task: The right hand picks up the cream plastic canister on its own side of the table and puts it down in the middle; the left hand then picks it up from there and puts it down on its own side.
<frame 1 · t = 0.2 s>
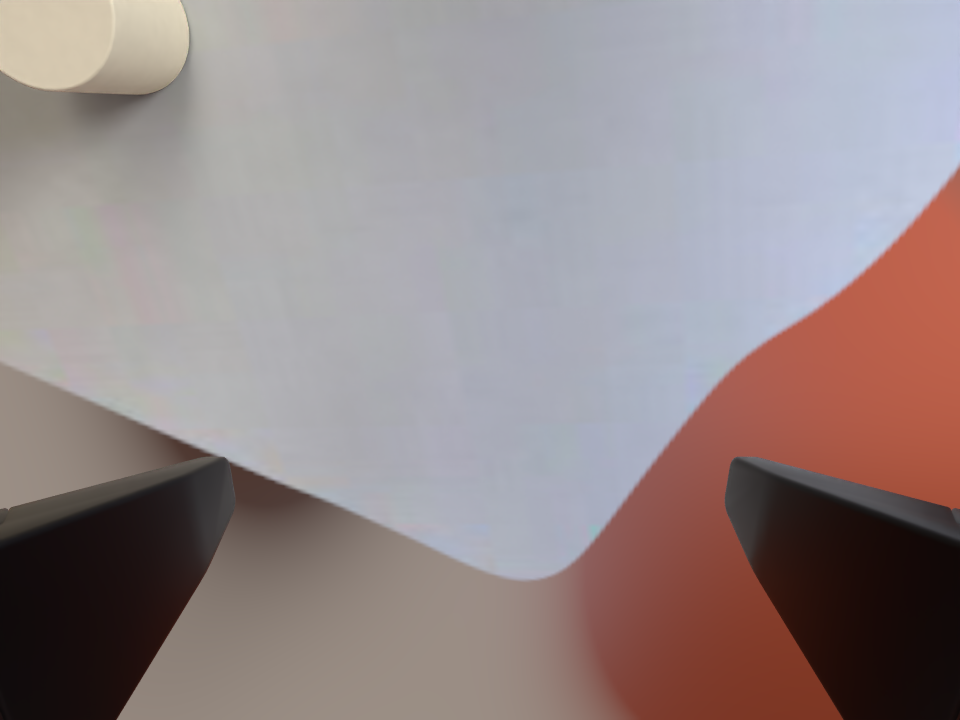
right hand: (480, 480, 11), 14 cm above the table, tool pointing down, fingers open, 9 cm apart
canister: (126, 26, 21), on the table
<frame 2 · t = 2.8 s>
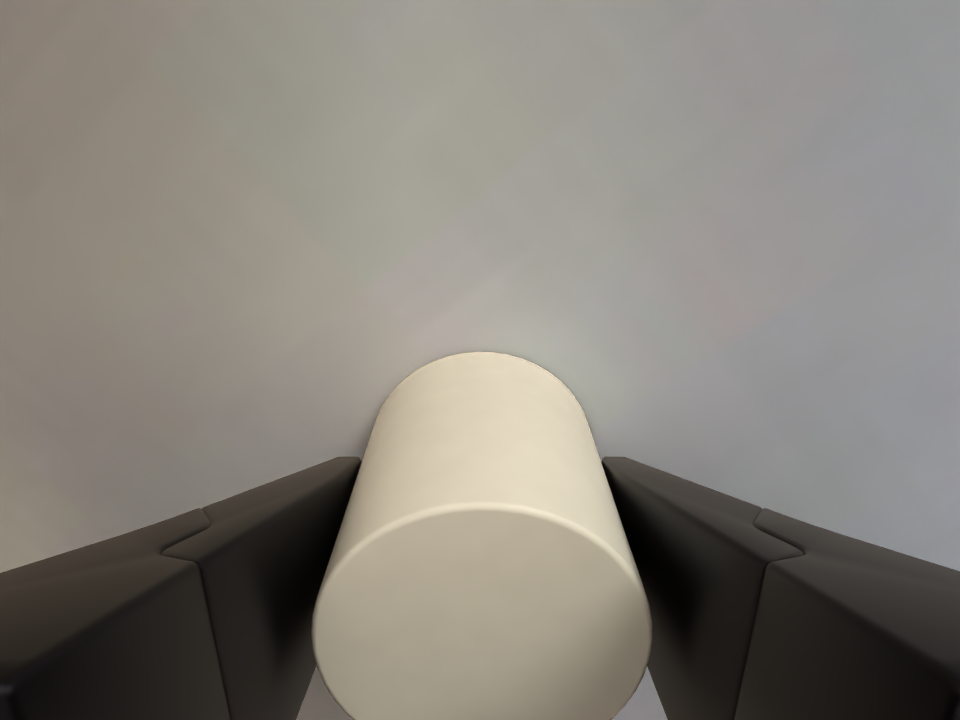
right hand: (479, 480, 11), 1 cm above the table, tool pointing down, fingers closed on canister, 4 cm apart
canister: (481, 452, 12), on the table, touching right hand
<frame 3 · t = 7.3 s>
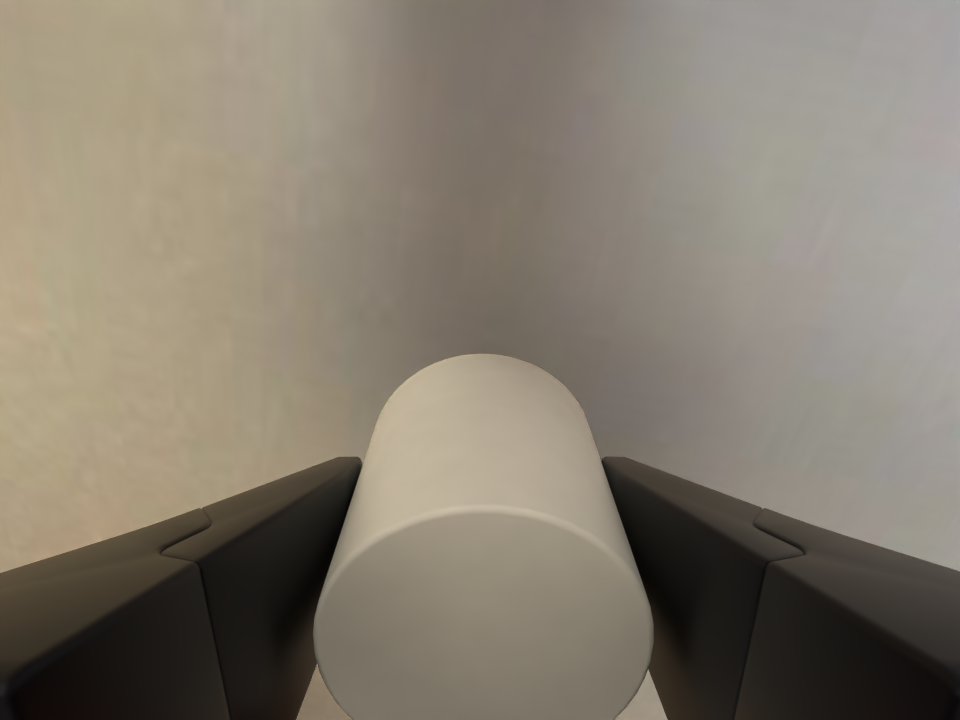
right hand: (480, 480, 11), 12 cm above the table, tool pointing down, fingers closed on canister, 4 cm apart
canister: (482, 453, 12), point 11 cm above the table, touching right hand
when the right hand's fingers open (2 cm above the table, at t = 12.2 s): canister stays where it is, on the table.
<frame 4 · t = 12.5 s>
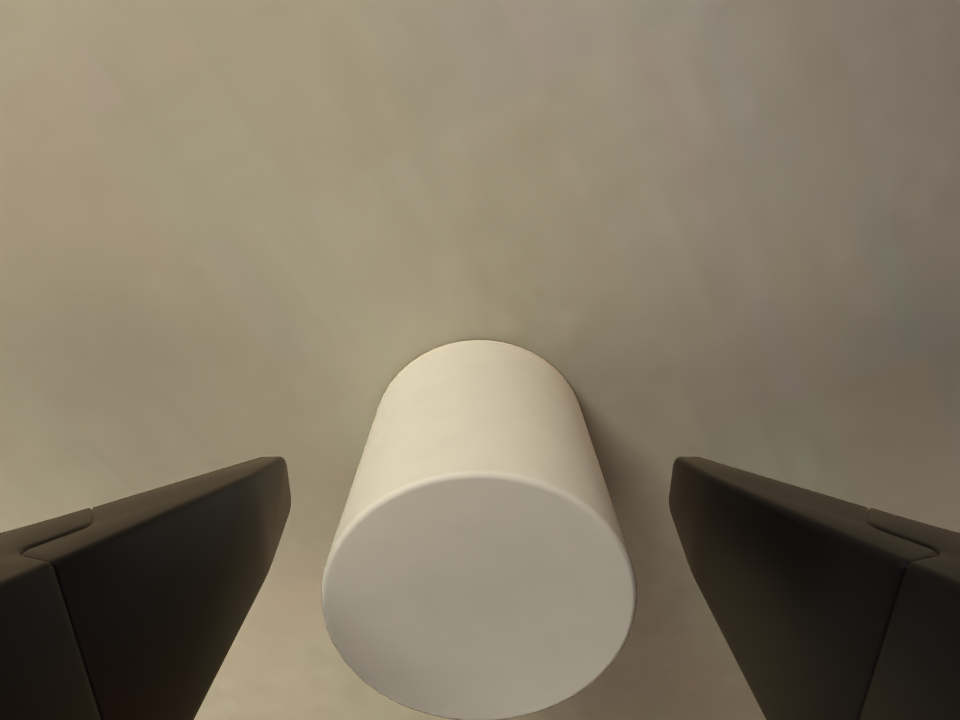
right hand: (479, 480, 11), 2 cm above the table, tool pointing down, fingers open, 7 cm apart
canister: (479, 436, 13), on the table
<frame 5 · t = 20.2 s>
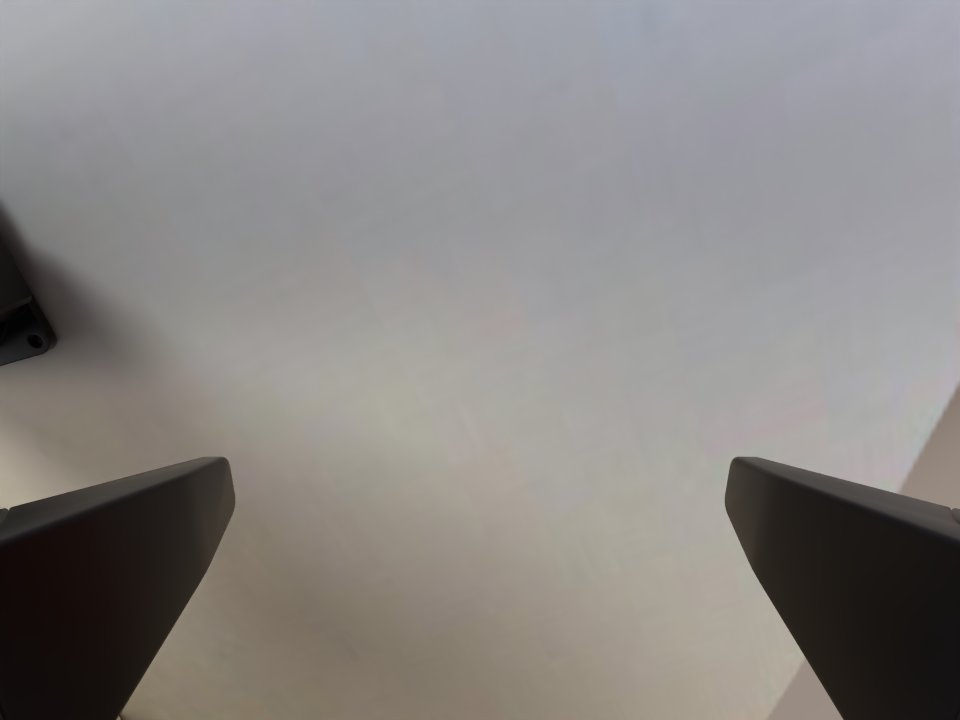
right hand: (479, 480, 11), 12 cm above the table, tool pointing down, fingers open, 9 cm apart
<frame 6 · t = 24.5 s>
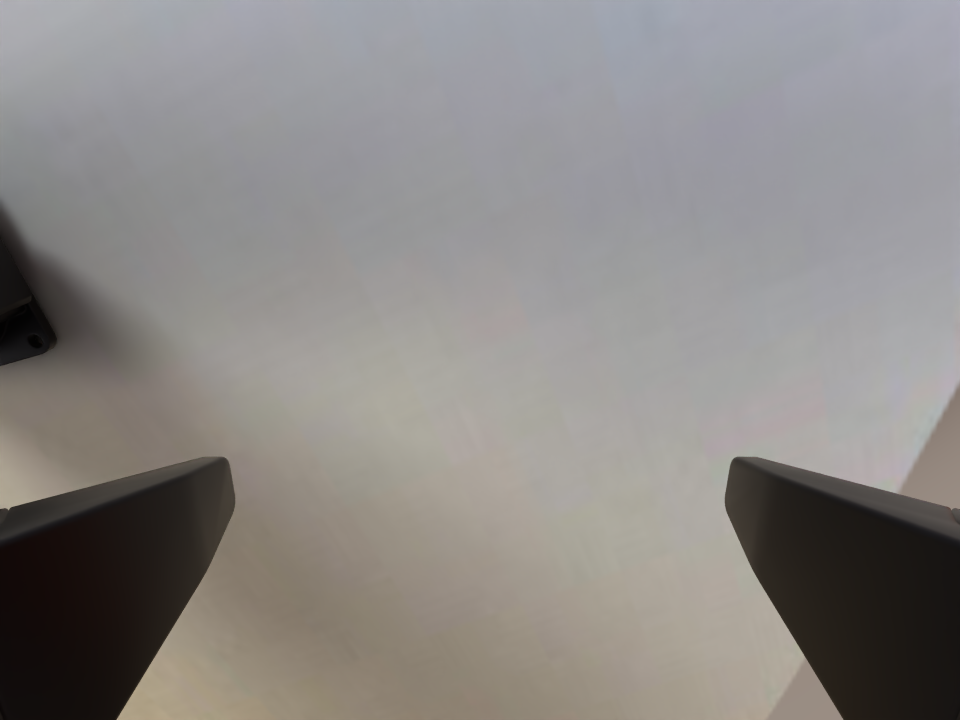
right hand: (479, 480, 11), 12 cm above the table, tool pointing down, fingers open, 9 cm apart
when the left hand's fingers open (2 cm above the table, at t = 28.8 s): canister stays where it is, on the table.
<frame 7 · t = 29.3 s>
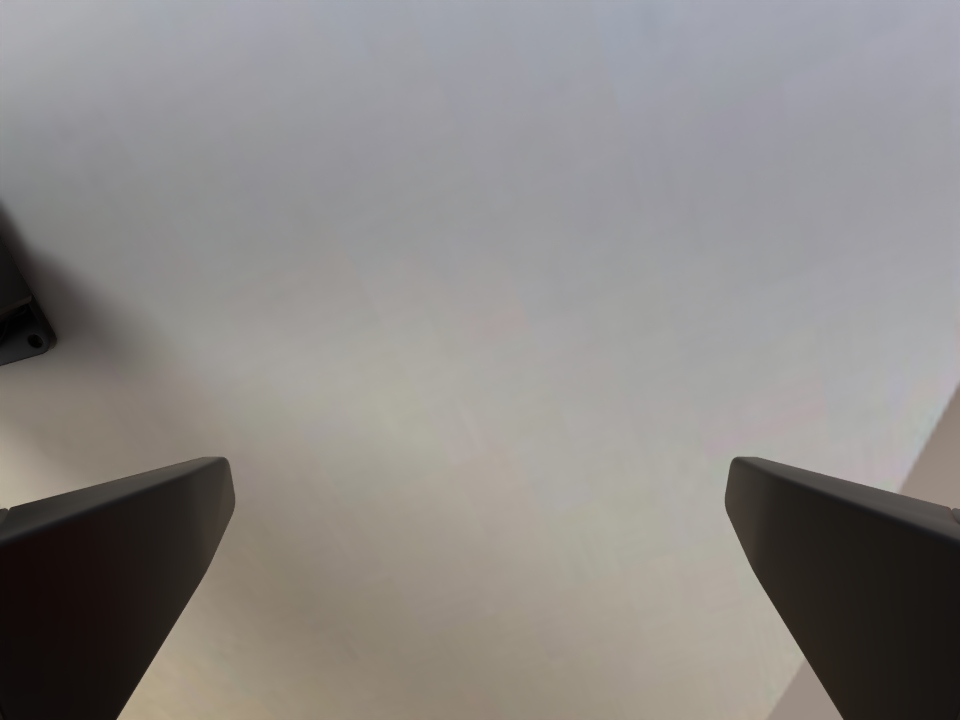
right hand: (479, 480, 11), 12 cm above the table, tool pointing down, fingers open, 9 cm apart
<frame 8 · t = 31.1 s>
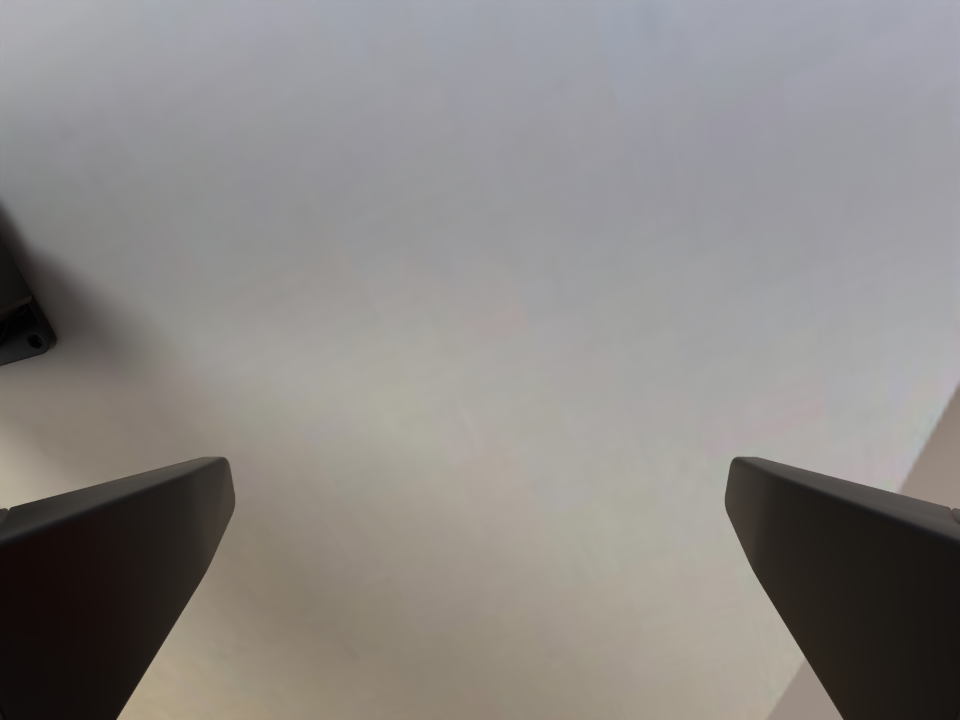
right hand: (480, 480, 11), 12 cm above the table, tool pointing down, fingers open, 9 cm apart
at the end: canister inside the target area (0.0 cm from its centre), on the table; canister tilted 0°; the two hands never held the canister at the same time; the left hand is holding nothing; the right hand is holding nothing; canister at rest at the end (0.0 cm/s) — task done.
